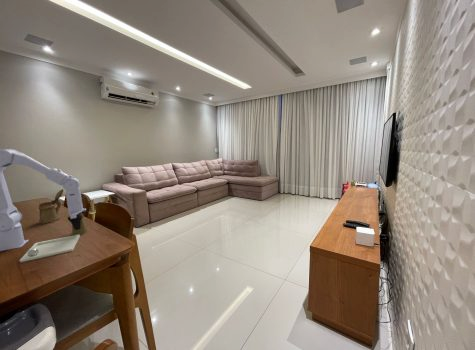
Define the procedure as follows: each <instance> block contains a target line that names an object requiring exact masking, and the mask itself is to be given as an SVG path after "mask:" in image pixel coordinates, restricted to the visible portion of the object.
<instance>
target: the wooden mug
mask: <svg viewBox="0 0 475 350" xmlns="http://www.w3.org/2000/svg"><path fill="white" fill-rule="evenodd" d="M63 194H64V188H63V189H61V190H59V191H58V192H57V193H56V195H55V197H54V199H53V200H50V201H47V202H46V201H45V202H41V203H39V205H38V210H39V219H38V222H39V224H49V223H53V222H56V221H58V220H59V219H60V215H59V211H60V210H61V209H60V208H61V205H62V203H61V201H60V198H61V197H62V195H63ZM56 205H57V206H56Z"/></svg>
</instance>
